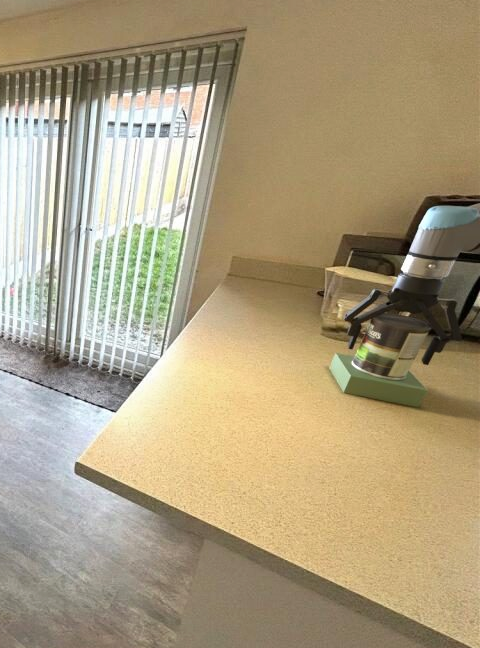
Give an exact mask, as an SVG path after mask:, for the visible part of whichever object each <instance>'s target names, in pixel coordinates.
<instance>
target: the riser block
mask: <svg viewBox="0 0 480 648" xmlns="http://www.w3.org/2000/svg"><path fill="white" fill-rule="evenodd" d="M354 357H355V355H350V354H345V353H339V352H335V353H334V355H333V358H332V361H331V363H330V365H329V367H328V368H329V371H330V372H331V374H332V375H333V377H334V379H335V381H336V382H337V384H338V385H339V387H340V388H341V391H342V393H344V394H349V395H354V396H359V397H363V398H368V399H374V400H378V401H383V402H389V403H392V404H399V405H404V406H408V407H414V408H419V407H420V405H421V404H422V401H423V400H424V398H425V396H426V394H427V393H428V389H427V388H426V387H425V386H424V385H423V384H422V382H420V380H418V379H417V377H416V376H415V375H414V374H413V373H412V372H411V371H410V370H409V371H408V373H407V375H406V378H405V379H402V380H388V379H383V378H378V377H375V376H372V375H369V374H366V373H364V372H361V371H360V370H358V369H356V368H355V367H354V366H353V365H352V361H353V359H354Z"/></svg>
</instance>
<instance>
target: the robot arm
mask: <svg viewBox="0 0 480 648" xmlns="http://www.w3.org/2000/svg"><path fill="white" fill-rule="evenodd" d="M461 252H474V253H475V252H476V253H480V203H476V204H472V205H469V206H461V205H459V206H458V205H457V206H456V205H436V206H435V205H434V206H432V207H430V208H429V209H428V210H427V211H426V213H425V215H424V216H423V218H422V219H421V221H420V224H419V225H418V229H417V232H416V234H415V236H414V238H413V241H412V243H411V245H410V248H409V251H408V253H407V254H406V257H405V259H404V261H403V264H402V266H401V268H400V270H401V271H402V272H400V273H398V275H397V278H396V280H395V282H394V284H393V286H392V288H391V289H390V290H389V291H386V290H382V289H380V288H378V287H374V288H373V289H372V291H371V292H370V294H369V295H368V296H367V297H366V298H364V299H363V300H362V301H361V302H359V303H358V304H356V305H355V306H354V307H353V308H351V309H350V310H348V312H346V313H345V314H344V315H343V319H344V321H345V322H348V323H349V324H350V325H349V327H348V330H347V336H349V337H350V339H349V341H348V344H347V349H348V350H353V349H354V347H355V344H356V343H357V340H358V338H359V335H360V333H361V330H362V328H363V326H362V324H364V323H365V322H367V321H371V319H372V318H374V317H376V316H379V315H381V314H383V313H390V312H391V311H393V310H395V311H396V312H400V313H409V314H412V315H413V314H414V315H416V314H421V313H422V315H423V317H424V318H425V319H426V321H427V323H428V324H430V325H431V326H432V329H433V330H434V331H435V333H436V334H437V336H432V338H431V340H430V342H429V344H428V345H427V348H426V350H425V352H424V354H423V356H422V357H421V362H422V364H423V365H424V366H425V365H426V366H429V365H430V362H431V360H432V359H433V357H434V354H435V353H438V354H440V353H442V352H443V350H444V349H445V347H446V344H448V343H449V342H450V341H456V342H459V341H462V339H463V336H462V333H461V329H460V325H459V321H458V317H457V314H456V308H457V305H458V301H456V299H454V298H453V297H448V298H439V295H440V293H441V292H442V289H443V287H444V285H445V283H446V282H447V281H446V279H445V278H447V277H449V275H450V273H451V271H452V269H453V266H454V264H455V262H456V260H457V259H458V257H459V255H460V253H461ZM384 297H386V298H387V299H388V301H386V302H384V303H382V304H381V305H379V306H377V307H375V308H373V309H370V310H369V311H366V312H364V313H362V312H363V311H365V310H366V309H367V308H369V307H370V306H371V305H373V304H374V303H375V302H376V301H377V300H380V299H383V298H384ZM437 305H440V307H441V308H442V309H443V310H444V313H445V318H446V321H447V324H448V328H449V333H446V332H445V330H444V329H443V328H442V326H441V325H440V323H439V322H438V321H437V319H436V318H435V316H434V315H433V314H432V312H431V311H430V309H431V308H433V307H435V306H437ZM361 313H362V314H361Z"/></svg>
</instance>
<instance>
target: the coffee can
mask: <svg viewBox="0 0 480 648" xmlns="http://www.w3.org/2000/svg"><path fill="white" fill-rule="evenodd" d="M432 329H433V327H432V326H431V325H430V323H429V322H427V321H424V320H421V319H419V318H416V317H412V316H408V315H403V314H399V313H398V314H397V313H391V312H385V313H383V314H381V315H379V316H376V317H374V318H372V319H370V320H369V323H368V325H367V327H366V330H365V332H364V335H363V337H362V339H361V341H360V344H359V346H358V348H357V350H356V353H355V355H354V356H355V357H354V359H353V361H352V365H353V366H354V367H355V368H356V369H358V370H360V371H361V372H364V373H366V374H369V375H372V376H375V377H378V378H383V379H388V380H402V379H405V378H406V375H407V373H408V371H410V369H411V367H412V365H413V362H414V360H415V359H416V357H417V355H418V353H419V352H420V349H421V347H422V345H423V344H424V342H425V340H426V338H427V337H428V334H429V332H431V330H432Z"/></svg>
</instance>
